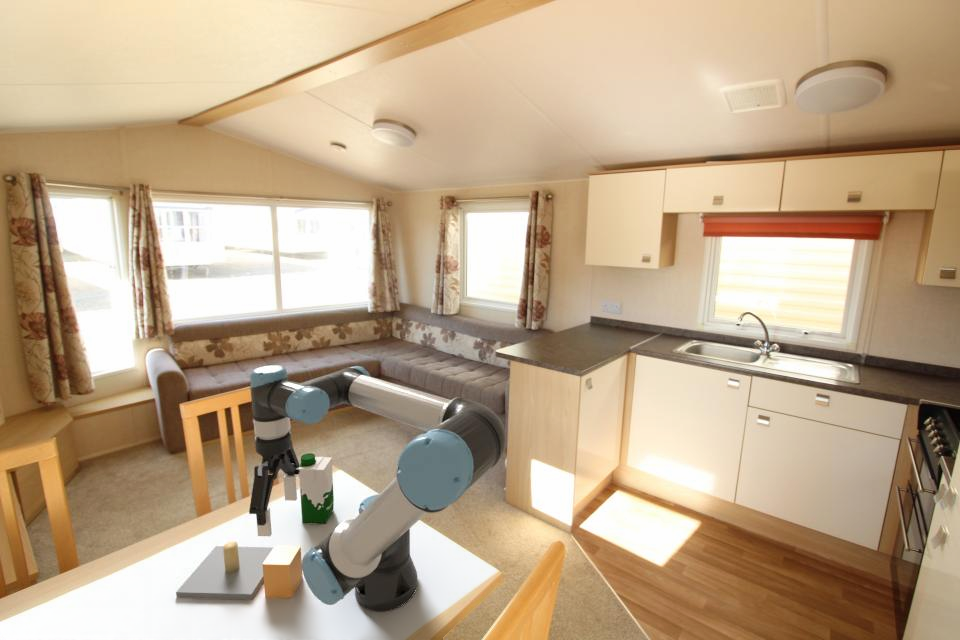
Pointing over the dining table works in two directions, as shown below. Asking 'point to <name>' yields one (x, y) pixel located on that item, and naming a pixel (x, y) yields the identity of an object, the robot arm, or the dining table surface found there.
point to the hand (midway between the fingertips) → (278, 516)
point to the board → (227, 573)
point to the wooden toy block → (282, 571)
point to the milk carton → (316, 488)
